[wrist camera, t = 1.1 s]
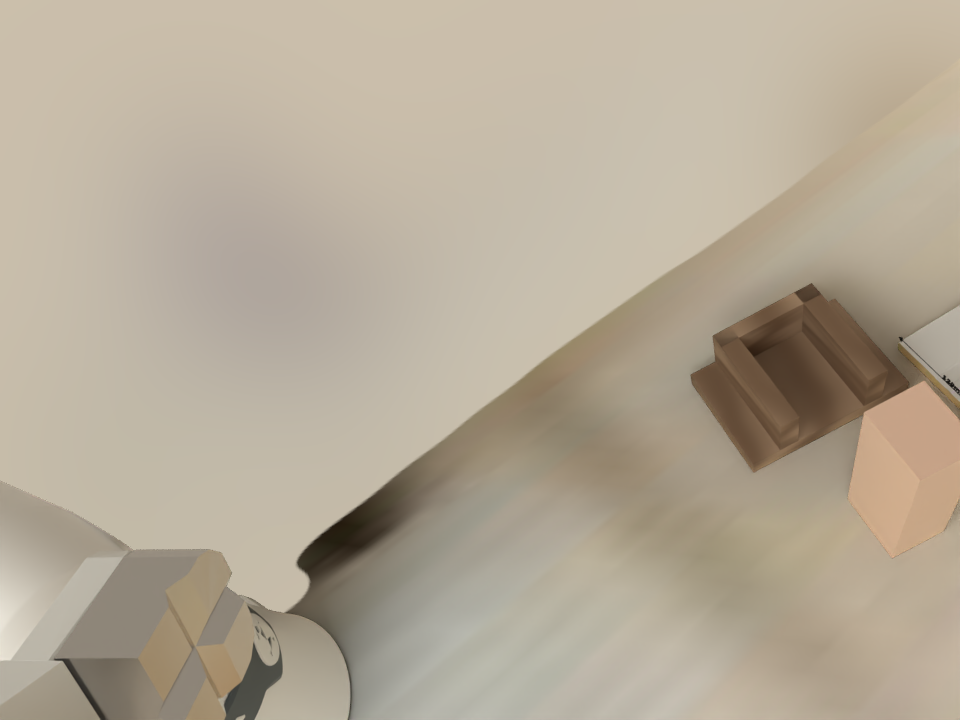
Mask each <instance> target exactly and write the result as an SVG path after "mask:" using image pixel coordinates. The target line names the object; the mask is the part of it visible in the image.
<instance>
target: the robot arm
mask: <svg viewBox="0 0 960 720" xmlns="http://www.w3.org/2000/svg"><path fill="white" fill-rule="evenodd" d="M231 574H232V572H231V570H230V568H229V566H228V564H227V562H226V561H225V559H224V557H223V555H222V553H221V552H217V551H213V550H208V549H206V550H205V549H201V550H200V549H196V550H195V549H193V550H135V551H133V550H132V549H131V548H130V547H129V546H127V545H126V544H124V543H123V542H121V541H120V540H118V539H117V538H115V537H114V536H112V535H110V534H109V533H107V532H106V531H104V530H102V529H101V528H99V527H97V526H96V525H94V524H92V523H90V522H89V521H87V520H85V519H84V518H82V517H80V516H78V515H76V514H75V513H73V512H71V511H69V510H67V509H64V508H62V507H59V506H57V505H55V504H53V503H50V502H48V501H46V500H43V499H41V498H39V497H36V496H34V495H32V494H29V493H27V492H25V491H22V490H20V489H18V488H16V487H13V486H11V485H9V484H7V483H4V482H2V481H0V720H348V715H349V709H350V681H349V675H348V670H347V666H346V663H345V660H344V657H343V655H342V653H341V651H340V649H339V647H338V645H337V644H336V642H335V641H334V640H333V638H332V637H331V636H330V635H329V634H328V633H327V632H326V631H325V630H324V629H323V628H322V627H321V626H319V625H318V624H316V623H315V622H313V621H311V620H309V619H307V618H305V617H302V616H299V615H295V614H288V613H281V612H276V611H271V610H268V609H266V608H265V607H264V606H262V605H261V604H259V603H258V602H256V601H255V600H253V599H251V598H249V597H245V596H242V595H237V594H236V593H234V592H233V591H232V590H230V589H229V588H228V587H227V584H228V582H229V579H230V577H231Z"/></svg>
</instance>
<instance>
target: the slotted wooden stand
mask: <svg viewBox="0 0 960 720" xmlns="http://www.w3.org/2000/svg"><path fill="white" fill-rule="evenodd" d="M713 343H714V352H715V361H716V362H714V363H712V364H710V365H708V366H706V367H704V368H703V369H701V370H699V371H697V372H695V373H693V374H691V380H692V384H693V386H694V387H695V389H696V390H697V392H698V393H699V394H700V396H701V397H702V399H703V400H704V402H705V403H706V405H707V406H708V407H709V409H710V410H711V412H712V413H713V415H714V416H715V417H716V419H717V420H718V422H719V423H720V425H721V426H722V428H723V429H724V430H725V432H726V433H727V435H728V436H729V438H730V439H731V441H732V442H733V443H734V445H735V446H736V448H737V449H738V451H739V452H740V454H741V455H742V456H743V458H744V459H745V461H746V462H747V464H748V465H749V466H750V468H751V469H752V471H753V472H755V471H757V470H759V469H761V468H763V467H765V466H767V465H769V464H771V463H772V462H774V461H776V460H778V459H780V458H782V457H784V456H786V455H788V454H790V453H791V452H793V451H795V450H797V449H799V448H801V447H803V446H805V445H807V444H809V443H810V442H812V441H814V440H816V439H818V438H820V437H822V436H824V435H826V434H828V433H829V432H831V431H833V430H835V429H837V428H839V427H841V426H843V425H845V424H847V423H848V422H850V421H852V420H854V419H856V418H858V417H860V416H862V415H864V412H866V411H867V410H869V409H871V408H873V407H875V406H877V405H879V404H881V403H883V402H885V401H886V400H888V399H890V398H892V397H894V396H896V395H898V394H900V393H902V392H904V391H905V390H907V388H908V384H909V382H908V381H907V380H906V379H905V377H904V376H903V375H902V374H901V373H900V372H899V371H898V369H897V368H896V367H895V366H894V365H893V364H892V363H891V362H890V360H889V359H888V358H887V357H886V356H885V355H884V354H883V353H882V351H881V350H880V349H879V348H878V347H877V346H876V345H875V343H874V342H873V341H872V340H871V339H870V338H869V337H868V336H867V334H866V333H865V332H864V331H863V330H862V329H861V328H860V327H859V325H858V324H857V323H856V322H855V321H854V320H853V319H852V317H851V316H850V315H849V314H848V313H847V312H846V311H845V310H844V308H843V307H842V306H841V305H840V304H839V303H838V302H837V301H836V299H833V300H831V301H829V302H828V301H827V300H826V299H825V298H824V297H823V296H822V295H821V293H820V292H819V291H818V290H817V289H816V288H815V287H814V285H813V284H812V283H811V284H809V285H808V286H806V287H804V288H802V289H800V290H798V291H796V292H794V293H792V294H791V295H789V296H787V297H785V298H783V299H781V300H779V301H777V302H775V303H774V304H772V305H770V306H768V307H766V308H764V309H762V310H760V311H758V312H757V313H755V314H753V315H751V316H749V317H747V318H745V319H743V320H741V321H740V322H738V323H736V324H734V325H732V326H730V327H728V328H726V329H724V330H722V331H721V332H719V333H717V334H715V335H713Z"/></svg>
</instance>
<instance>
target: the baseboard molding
mask: <svg viewBox="0 0 960 720" xmlns="http://www.w3.org/2000/svg"><path fill="white" fill-rule="evenodd" d="M899 338H900V340H901V341H900V342H898V350H899V351H900V352H901V353H902V354H903V355H905V356H906V357H907V358H908V359H909V360H910V361H911V362H912V363H913V364H914V365H915V366H916V367H917V368H918V369H919V370H920V371H921V372H922V373H923V374H924V375H925V376H926V377H927V378H928V379H929V380H930V381H931V382H932V383H933V384H934V385H935V386H936V387H937V388H938V389H939V390H940V391H941V392H943V393H944V394H945V395H946V396H947V397H948V398H949V399H950V400H951V401H952V402H953V403H954V404H955V405H956V406H957V407H958V408H959V409H960V305H959V306H957V307H956V308H954V309H952V310H951V311H949V312H947V313H946V314H944V315H942V316H941V317H939V318H937V319H936V320H934V321H933V322H931V323H929V324H928V325H926V326H924V327H923V328H921V329H919V330H918V331H916V332H914V333H913V334H911V335H910V336H908V337H906V338H905V339H903V338H902V337H899ZM902 339H903V340H902Z"/></svg>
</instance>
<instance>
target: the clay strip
mask: <svg viewBox="0 0 960 720" xmlns="http://www.w3.org/2000/svg"><path fill="white" fill-rule="evenodd" d="M959 498H960V420H959V419H958V418H957V416H956V415H955V414H954V413H953V412H952V411H951V410H950V409H949V408H948V406H947V405H946V404H945V403H944V402H943V401H942V400H941V399H940V397H939V396H938V395H937V394H936V393H935V392H934V391H933V390H932V389H931V387H930V386H929V385H928V384H927V383H926V382H925V381H922V382H921V383H919V384H917V385H915V386H913V387H911V388H909V389H907V390H905V391H904V392H902V393H900V394H898V395H896V396H894V397H892V398H890V399H888V400H886V401H885V402H883V403H881V404H879V405H877V406H875V407H873V408H871V409H869V410H867V411H866V412H864V415H863V421H862V426H861V431H860V436H859V441H858V447H857V452H856V457H855V462H854V467H853V472H852V478H851V483H850V488H849V493H848V498H847V499H848V501H849V502H850V503H851V505H852V506H853V507H854V509H855V510H856V511H857V512H858V514H859V515H860V516H861V518H862V519H863V520H864V522H865V523H866V524H867V526H868V527H869V528H870V530H871V531H872V532H873V534H874V535H875V536H876V538H877V539H878V540H879V542H880V543H881V544H882V546H883V547H884V548H885V550H886V551H887V552H888V554H889V555H890V556H891V558H894V557H896V556H898V555H900V554H901V553H903V552H905V551H907V550H909V549H911V548H913V547H915V546H917V545H919V544H921V543H922V542H924V541H926V540H928V539H930V538H932V537H934V536H936V535H938V534H940V533H942V532H943V531H944V530H945V527H946V525H947V523H948V521H949V519H950V517H951V515H952V513H953V511H954V509H955V507H956V505H957V503H958V500H959Z"/></svg>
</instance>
